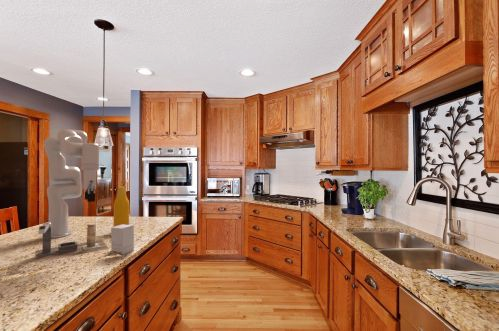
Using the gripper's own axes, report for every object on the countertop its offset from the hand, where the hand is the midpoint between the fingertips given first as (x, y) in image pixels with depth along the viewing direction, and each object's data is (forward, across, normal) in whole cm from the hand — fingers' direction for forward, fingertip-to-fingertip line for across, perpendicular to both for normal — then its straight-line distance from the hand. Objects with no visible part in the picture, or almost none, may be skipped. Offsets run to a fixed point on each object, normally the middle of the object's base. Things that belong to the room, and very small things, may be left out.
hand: (89, 200), depth 126 cm
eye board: (+25, +1, -7) cm, 26 cm away
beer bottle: (+25, -27, +21) cm, 43 cm away
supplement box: (+25, +16, +12) cm, 32 cm away
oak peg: (+23, +2, +1) cm, 23 cm away
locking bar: (+11, +7, -18) cm, 22 cm away
